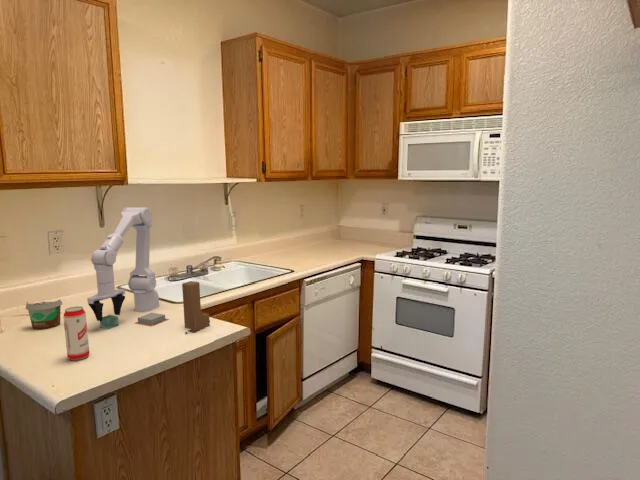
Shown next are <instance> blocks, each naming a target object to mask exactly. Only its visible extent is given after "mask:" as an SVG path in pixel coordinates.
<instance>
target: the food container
mask: <svg viewBox="0 0 640 480" xmlns="http://www.w3.org/2000/svg"><path fill="white" fill-rule="evenodd" d="M61 305H63V301H62V300H61V299H57V300H56V301H41V302H36V303H29V302H28V301H27V302H26V304H25V310H27V311H28V315H29V319H30V323H31V327H32V330H35V331H42V330H50V329H53V328H56V327H58V326H60V325H61Z"/></svg>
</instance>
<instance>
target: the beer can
mask: <svg viewBox="0 0 640 480" xmlns="http://www.w3.org/2000/svg"><path fill="white" fill-rule="evenodd" d="M63 326H64V337H65V346H66V347H65V348H66V356H67V359H69V360H70V361H75V362H76V361H82V360H84V359H86V358H87V357H88V356H89V355H90V346H89V345H90V343H89V335H88V325H87V315H86V311H85V309H84V307H83V306H73V307H72V306H70V307H67V308H65V309H64V312H63Z"/></svg>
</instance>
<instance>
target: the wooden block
mask: <svg viewBox="0 0 640 480" xmlns="http://www.w3.org/2000/svg"><path fill="white" fill-rule="evenodd" d="M181 287H182V289H181V290H182V304H183V306H182V307H183V319H184V320H183V322H184V328H185V329H188V330H187V332H191V333H196V332H198V331H200V330H203V329H205V328H206V327H208V326H210V324H211V323H210V314H209V313H205V312H202V307H201V306H202V305H201V289H200V287H201V286H200V282H199V281H192V280H191V281H190V280H189V281H187V282H183V283H182V285H181Z"/></svg>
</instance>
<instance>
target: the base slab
mask: <svg viewBox="0 0 640 480" xmlns="http://www.w3.org/2000/svg"><path fill="white" fill-rule="evenodd" d="M169 320H170V319H168V318H165V320H163V321H161V322H158V323H156V324H153V325H148V324H142V323H138V321H136V322H134V324H136V325H140V326H146V327H154V326H156V325H159V324H162V323H164V322H167V321H169Z"/></svg>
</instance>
